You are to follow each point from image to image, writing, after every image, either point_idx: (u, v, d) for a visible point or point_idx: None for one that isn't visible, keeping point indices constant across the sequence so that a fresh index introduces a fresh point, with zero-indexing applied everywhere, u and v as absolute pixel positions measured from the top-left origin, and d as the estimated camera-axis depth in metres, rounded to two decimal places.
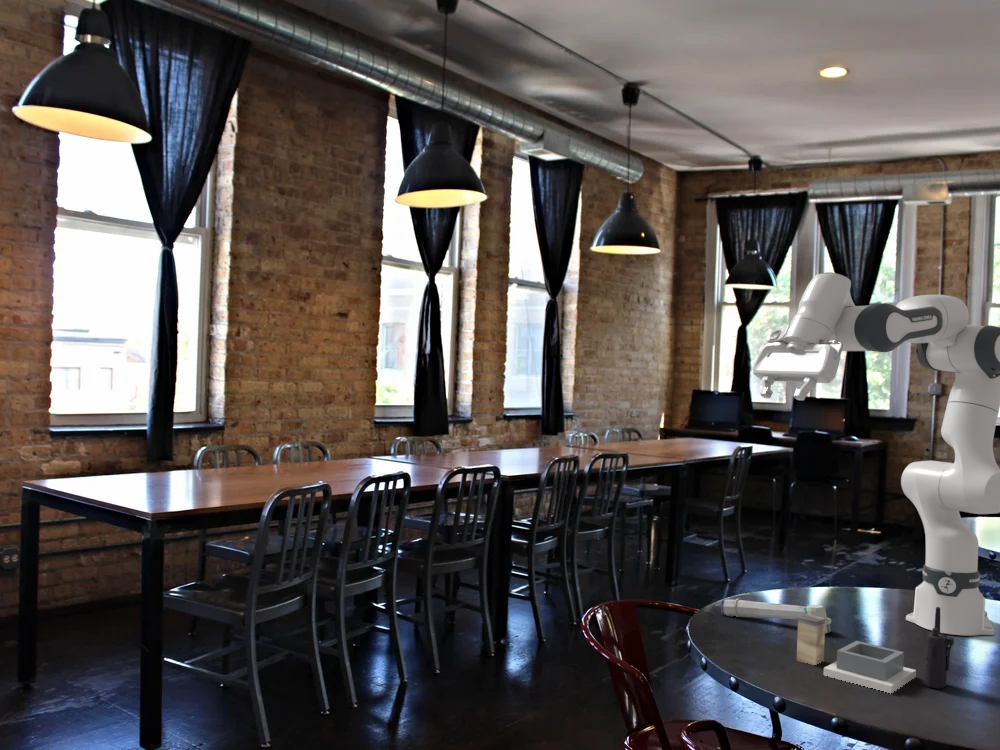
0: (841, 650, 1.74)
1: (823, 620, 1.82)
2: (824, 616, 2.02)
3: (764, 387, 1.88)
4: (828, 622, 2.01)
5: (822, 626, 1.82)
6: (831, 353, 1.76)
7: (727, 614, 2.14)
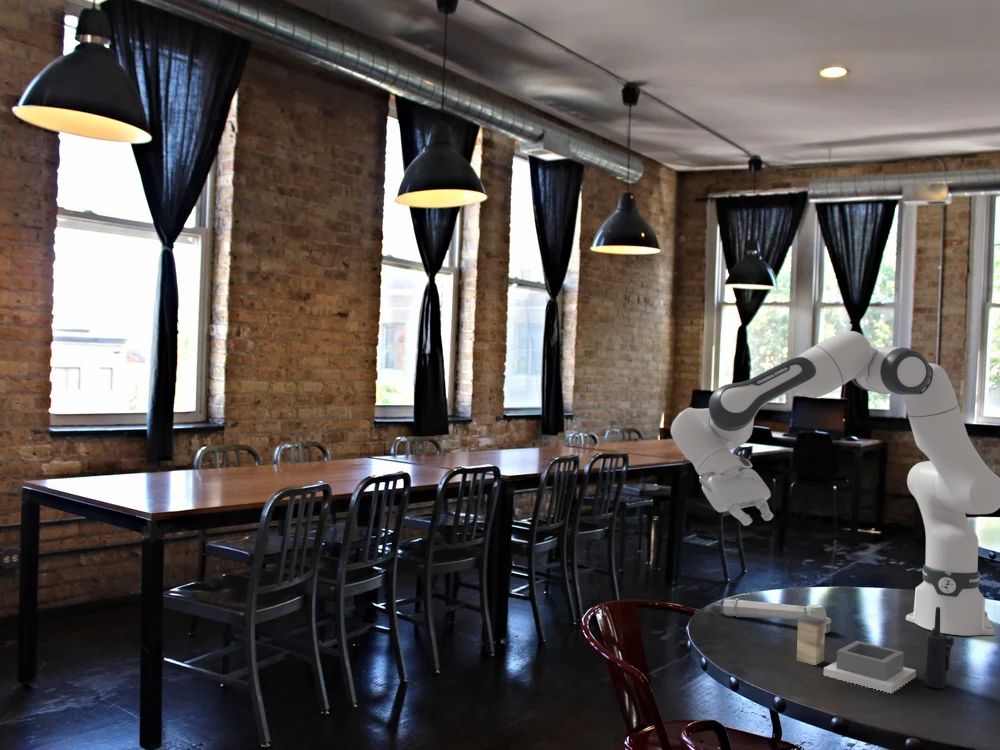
0: (841, 650, 1.74)
1: (823, 620, 1.82)
2: (824, 616, 2.02)
3: None
4: (828, 622, 2.01)
5: (822, 625, 1.82)
6: (704, 491, 1.90)
7: (727, 614, 2.14)
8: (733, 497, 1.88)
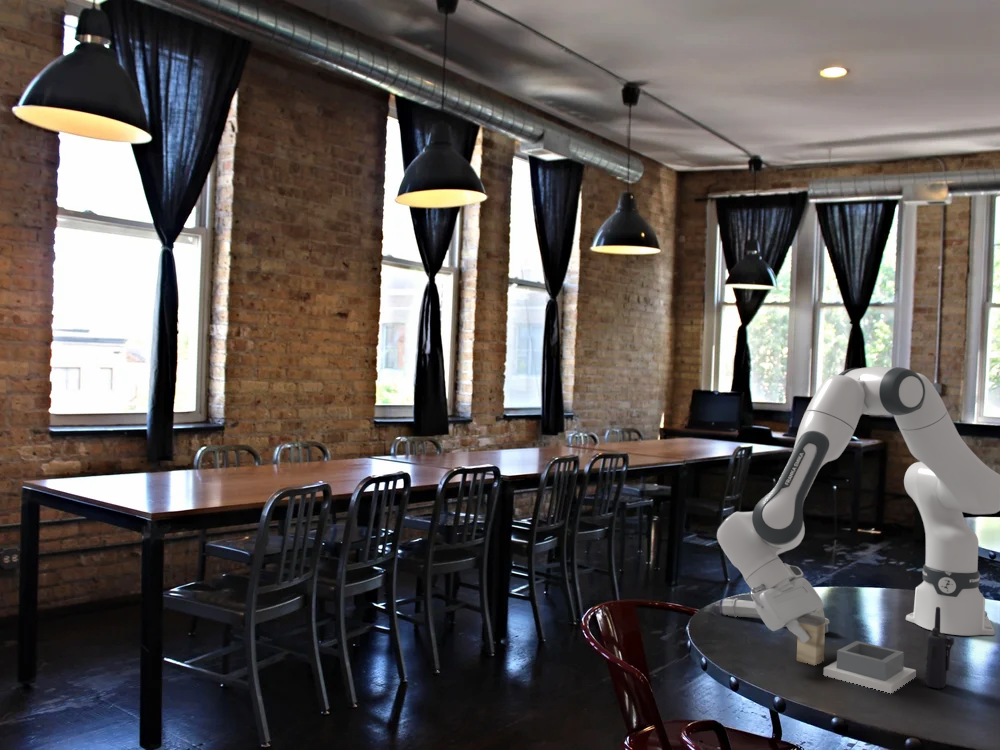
0: (841, 650, 1.74)
1: (823, 620, 1.82)
2: (822, 616, 2.02)
3: None
4: (826, 622, 2.01)
5: (822, 625, 1.82)
6: (756, 607, 1.81)
7: (726, 614, 2.14)
8: (787, 614, 1.80)
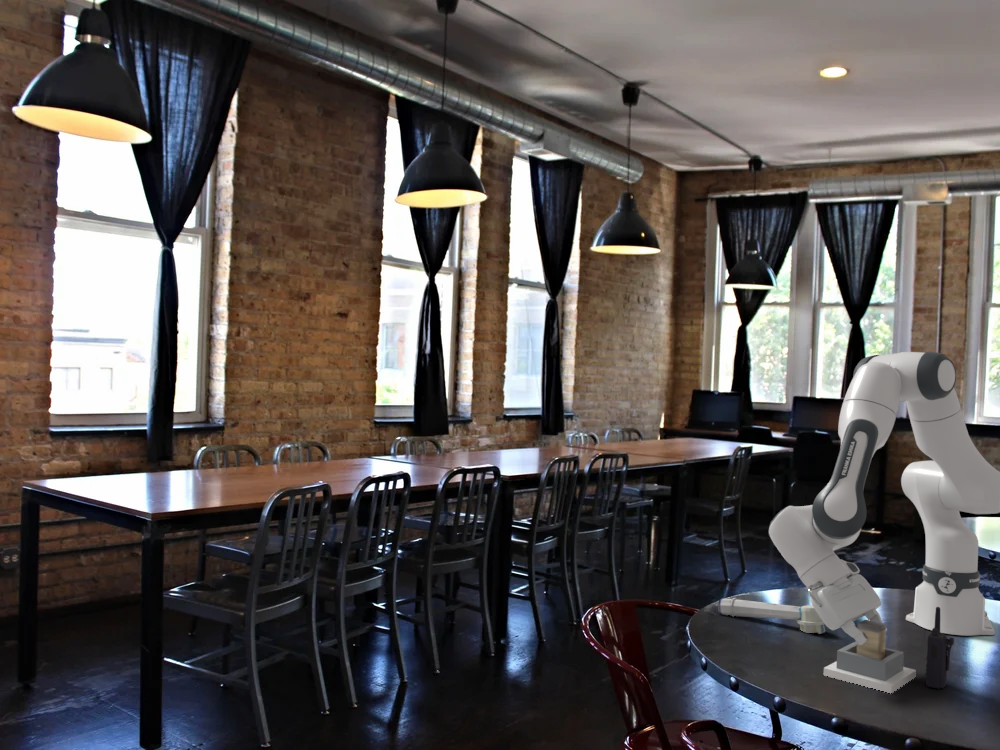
0: (841, 650, 1.74)
1: (884, 626, 1.74)
2: (818, 616, 2.01)
3: None
4: (822, 623, 2.01)
5: (883, 632, 1.73)
6: (814, 606, 1.72)
7: (724, 613, 2.15)
8: (847, 613, 1.71)
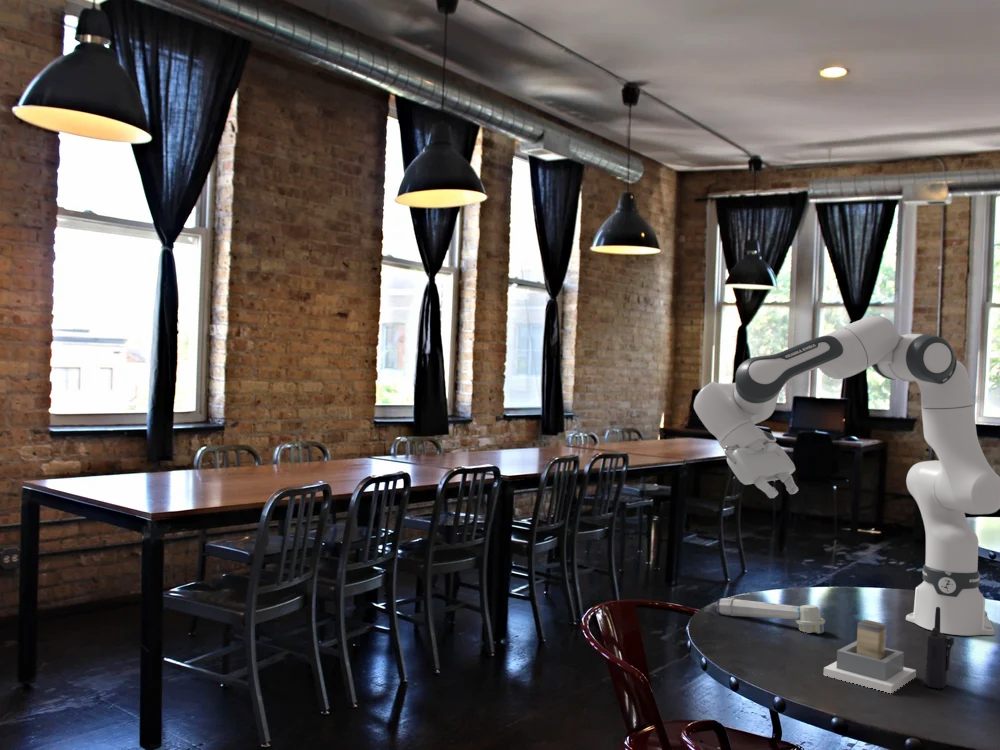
0: (841, 650, 1.74)
1: (884, 626, 1.74)
2: (817, 616, 2.02)
3: None
4: (821, 622, 2.01)
5: (883, 632, 1.73)
6: (730, 464, 1.88)
7: (723, 613, 2.15)
8: (758, 469, 1.87)
